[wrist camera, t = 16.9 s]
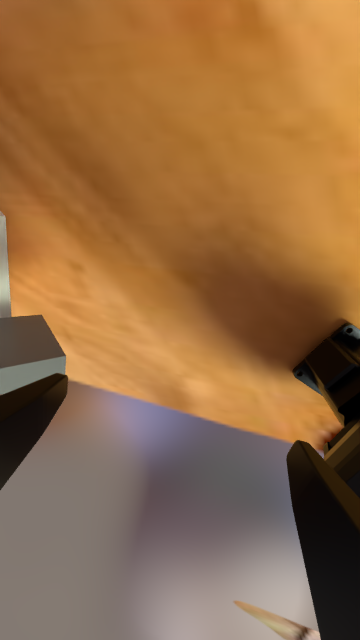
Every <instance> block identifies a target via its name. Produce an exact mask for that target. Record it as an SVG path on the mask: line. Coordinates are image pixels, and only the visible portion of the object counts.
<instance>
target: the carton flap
mask: <svg viewBox="0 0 360 640" xmlns="http://www.w3.org/2000/svg"><path fill="white" fill-rule="evenodd" d="M65 366H66V355H65V353H64V352H63V350H62V348H61V347H60V345H59V343H58V342H57V340H56V338H55V336H54V335H53V333H52V331H51V330H50V328H49V326H48V325H47V323H46V321H45V320H44V318H43V316H42V315H32V316H19V317H11V302H10V285H9V268H8V251H7V234H6V217H5V215H4V214H3V213H2V212H1V211H0V394H4V393H8V392H10V391H13V390H15V389H17V388H20V387H22V386H25V385H27V384H30V383H32V382H35V381H37V380H40V379H42V378H45V377H47V376H50V375H52V374H55V373H61V374H64V375H65Z"/></svg>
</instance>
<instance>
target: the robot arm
mask: <svg viewBox="0 0 360 640" xmlns="http://www.w3.org/2000/svg"><path fill="white" fill-rule="evenodd" d="M347 328H350V330H349V331H346V330H347ZM298 372H301V373H300V374H297V373H298ZM293 374H294V376H295V377H296V378H297V379H298V380H300V381H301V382H303V383H304V384H306V385H307V386H309V387H310V388H312V389H313V390H315V391H316V392H318V393H319V394H321V395H322V396H323V397H324V398H325V400H326V401H327V403H328V405H329V406H330V408H331V409H332V411H333V412H334V414H335V416H336V417H337V419H338V420H339V422H340V423H341V425H342V426H343V429H342V430H341V431H340V432H339V433H338V434H337V435H336V436H335V437H334V438H333V439H332V440H331V441H330V442H327V443H326V444H325V445H324V446H323V451H324V459H323V458H322V457H321V456H320V455H319V454H318V453H317V451H316V450H315V449H314V448H313V447H312V446H311V445H310V444H309V443H307V442H304V441H300V440H297V441H295V443H294V444H293V446H292V447H291V449H290V451H289V452H288V454H287V469H288V476H289V485H290V494H291V501H292V507H293V512H294V517H295V522H296V526H297V531H298V536H299V540H300V544H301V549H302V554H303V559H304V563H305V568H306V572H307V577H308V582H309V586H310V590H311V596H312V600H313V605H314V610H315V614H316V619H317V623H318V628H319V633H320V637H321V640H360V330H359V329H358V328H356V327H355V326H354V325H352V324H350V323H346V324H344V325H342V326H341V327H340V328H339V329H338V330H337V331H335V332H334V333H333V334H332V335H331V336H330V337H329V338H328V339H326V340H325V341H324V342H322V343H321V344H320V345H319V346H318V347H317V348H316V349H315V350H314V351H313V352H311V353H310V354H309V355H308V356H307V357H306V359H305V360H303V361H302V362H301V363H300V364H299V365H298V366H297V367H296V368H295V369H294V370H293ZM67 389H68V376H67V375H64V374H61V373H55V374H52V375H50V376H47V377H45V378H42V379H40V380H37V381H35V382H32V383H30V384H27V385H25V386H22V387H20V388H17V389H15V390H13V391H10V392H8V393H5V394H3V395H0V490H1V489H2V487H3V486H4V485H5V483H6V482H7V480H9V478H10V477H11V475H12V474H13V473H14V472H15V470H16V469H17V468H18V466H19V465H20V464H21V462H22V461H23V460H24V458H25V457H26V456H27V454H28V453H29V452H30V451H31V449H32V448H33V447H34V445H35V444H36V443H37V441H38V440H39V439H40V437H41V436H42V434H43V433H44V431H45V430H46V428H47V427H48V425H49V423H50V422H51V420H52V419H53V417H54V415H55V414H56V412H57V410H58V409H59V407H60V406H61V404H62V402H63V401H64V399H65V397H66V395H67Z"/></svg>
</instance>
